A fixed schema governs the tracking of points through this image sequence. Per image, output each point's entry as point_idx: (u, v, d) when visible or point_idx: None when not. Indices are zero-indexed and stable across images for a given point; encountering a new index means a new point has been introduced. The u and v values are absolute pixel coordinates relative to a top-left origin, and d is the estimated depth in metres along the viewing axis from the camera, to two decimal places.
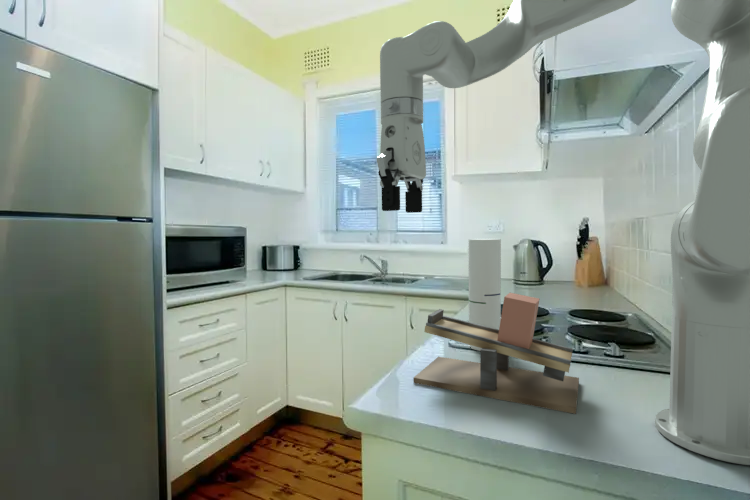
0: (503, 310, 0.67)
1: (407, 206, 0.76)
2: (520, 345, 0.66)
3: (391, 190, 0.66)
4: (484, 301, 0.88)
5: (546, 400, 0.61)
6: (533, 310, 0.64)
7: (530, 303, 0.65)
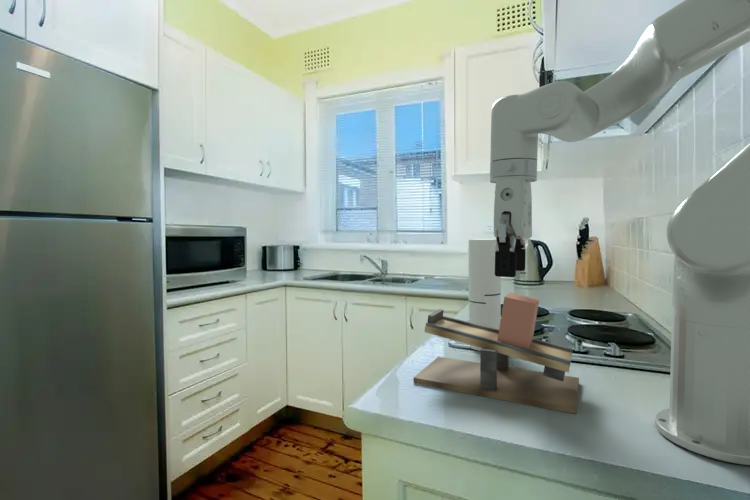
0: (503, 310, 0.67)
1: None
2: (520, 345, 0.66)
3: (508, 257, 0.63)
4: (484, 301, 0.88)
5: (546, 400, 0.61)
6: (533, 310, 0.64)
7: (530, 303, 0.65)
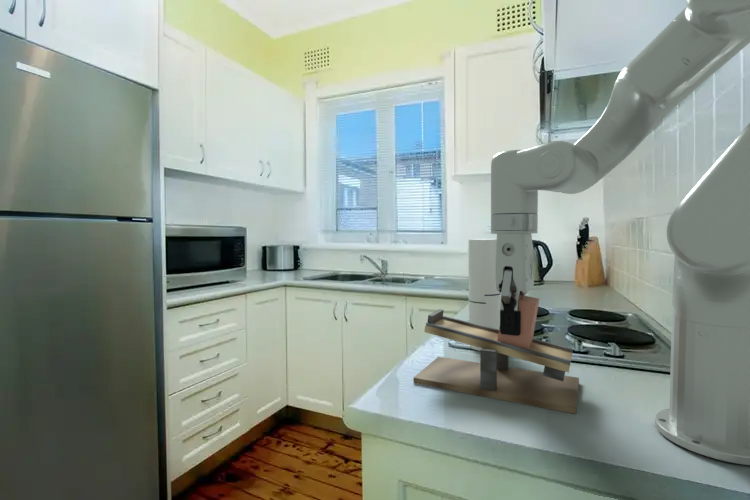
0: None
1: None
2: (520, 345, 0.66)
3: (513, 316, 0.65)
4: (484, 301, 0.88)
5: (546, 400, 0.61)
6: (533, 310, 0.64)
7: (530, 303, 0.65)
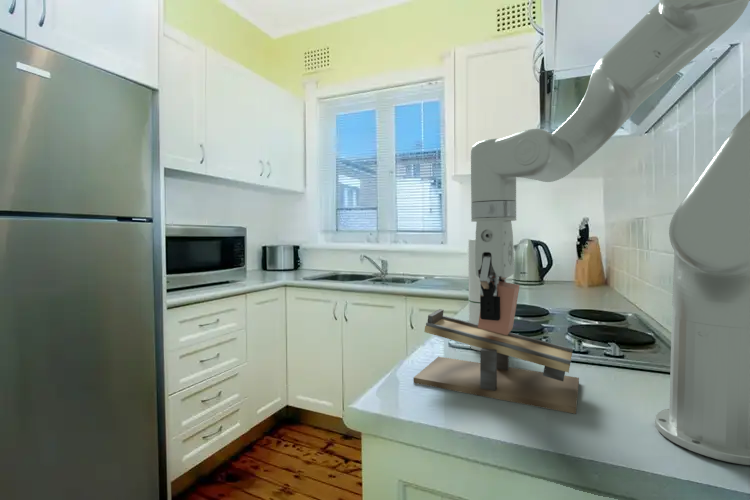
0: None
1: None
2: (500, 330, 0.67)
3: (492, 301, 0.66)
4: None
5: (546, 400, 0.61)
6: (512, 295, 0.66)
7: (509, 288, 0.66)
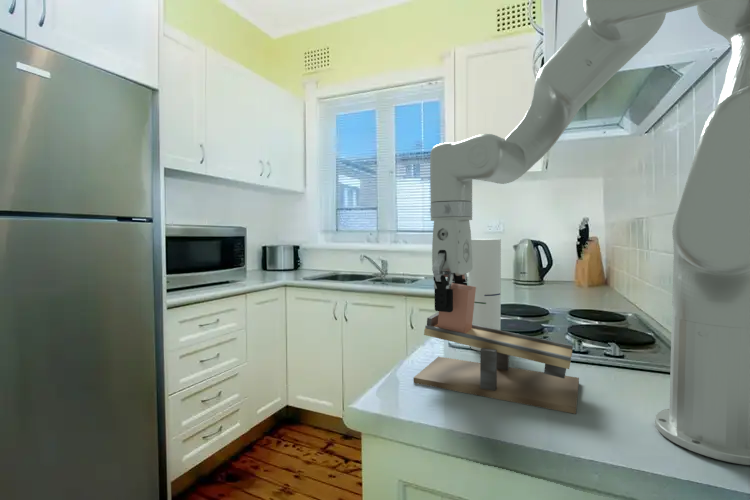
0: None
1: None
2: (457, 330, 0.71)
3: (445, 293, 0.69)
4: (484, 301, 0.88)
5: (546, 400, 0.61)
6: (466, 297, 0.70)
7: (463, 290, 0.70)
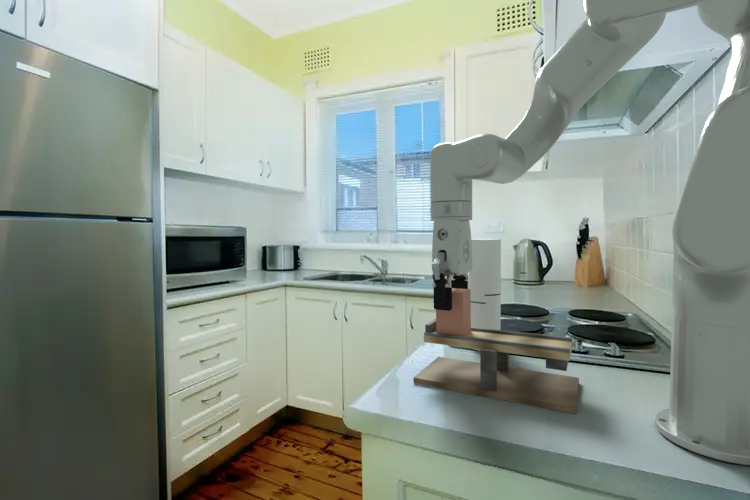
0: None
1: None
2: (456, 334, 0.71)
3: (444, 292, 0.68)
4: (484, 301, 0.88)
5: (546, 400, 0.61)
6: (461, 299, 0.70)
7: (458, 293, 0.70)
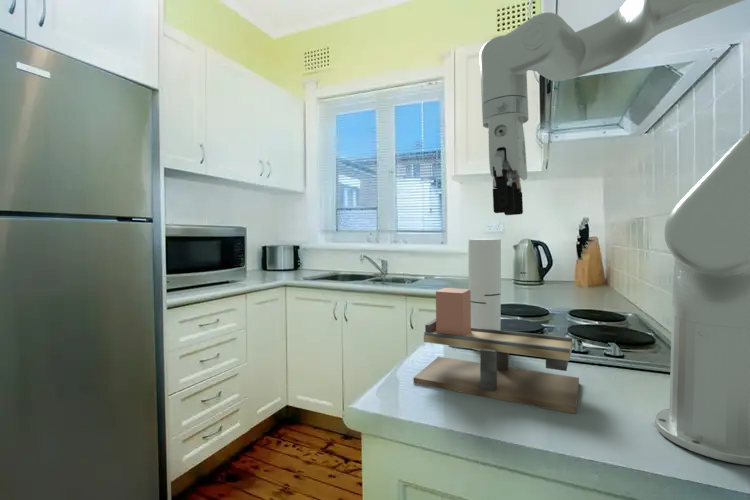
0: (437, 304, 0.72)
1: None
2: (456, 334, 0.71)
3: (506, 191, 0.63)
4: (484, 301, 0.88)
5: (546, 400, 0.61)
6: (461, 299, 0.70)
7: (458, 293, 0.70)
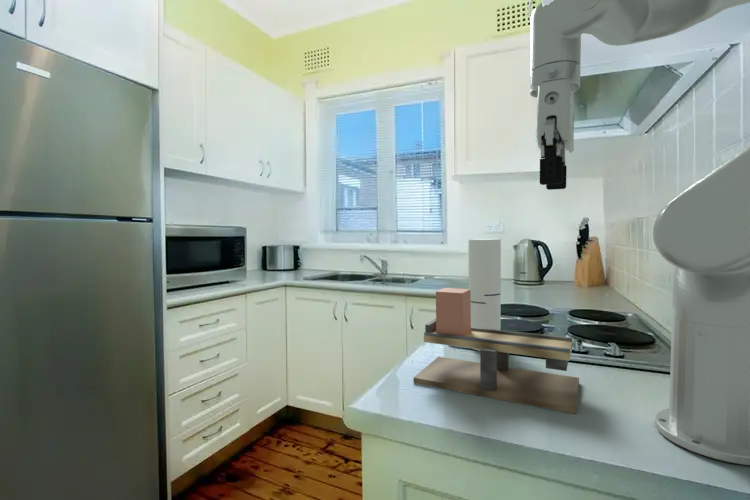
0: (437, 304, 0.72)
1: None
2: (456, 334, 0.71)
3: (554, 161, 0.61)
4: (484, 301, 0.88)
5: (546, 400, 0.61)
6: (461, 299, 0.70)
7: (458, 293, 0.70)
